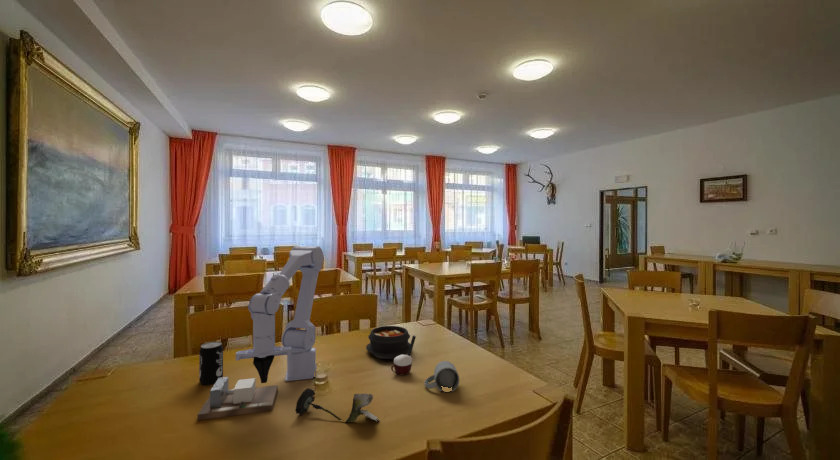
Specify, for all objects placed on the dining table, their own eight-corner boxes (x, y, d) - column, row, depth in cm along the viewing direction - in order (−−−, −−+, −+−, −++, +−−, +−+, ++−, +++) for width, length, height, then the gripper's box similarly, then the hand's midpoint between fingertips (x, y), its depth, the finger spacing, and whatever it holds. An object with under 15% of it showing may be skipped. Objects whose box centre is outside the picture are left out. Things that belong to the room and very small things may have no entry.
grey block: (228, 393, 99) (228, 376, 99) (220, 408, 91) (220, 389, 91) (218, 394, 98) (218, 377, 98) (210, 409, 91) (210, 390, 90)
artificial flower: (311, 408, 97) (320, 372, 99) (381, 434, 89) (389, 394, 92) (291, 415, 89) (301, 376, 91) (366, 445, 81) (376, 401, 83)
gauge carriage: (255, 391, 100) (255, 378, 100) (249, 406, 92) (249, 391, 92) (229, 394, 98) (229, 380, 98) (220, 410, 90) (220, 395, 90)
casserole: (416, 362, 127) (417, 340, 127) (366, 365, 124) (367, 342, 124) (407, 339, 152) (407, 321, 151) (365, 342, 148) (365, 323, 148)
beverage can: (211, 386, 106) (211, 348, 106) (194, 384, 108) (194, 347, 107) (227, 377, 113) (227, 341, 112) (210, 375, 114) (210, 340, 114)
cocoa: (392, 378, 114) (391, 344, 113) (389, 370, 120) (388, 337, 119) (419, 375, 116) (418, 340, 115) (415, 366, 122) (414, 334, 121)
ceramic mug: (455, 380, 112) (455, 357, 112) (459, 392, 104) (459, 368, 104) (423, 381, 112) (423, 358, 111) (425, 393, 103) (425, 369, 103)
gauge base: (277, 389, 105) (277, 384, 105) (272, 410, 93) (272, 404, 93) (211, 397, 100) (211, 392, 100) (197, 420, 88) (197, 414, 88)
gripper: (232, 342, 92) (232, 391, 92) (289, 337, 96) (289, 384, 96) (238, 333, 99) (239, 379, 99) (291, 329, 103) (291, 374, 103)
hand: (264, 381), depth 98 cm, fingers closed
